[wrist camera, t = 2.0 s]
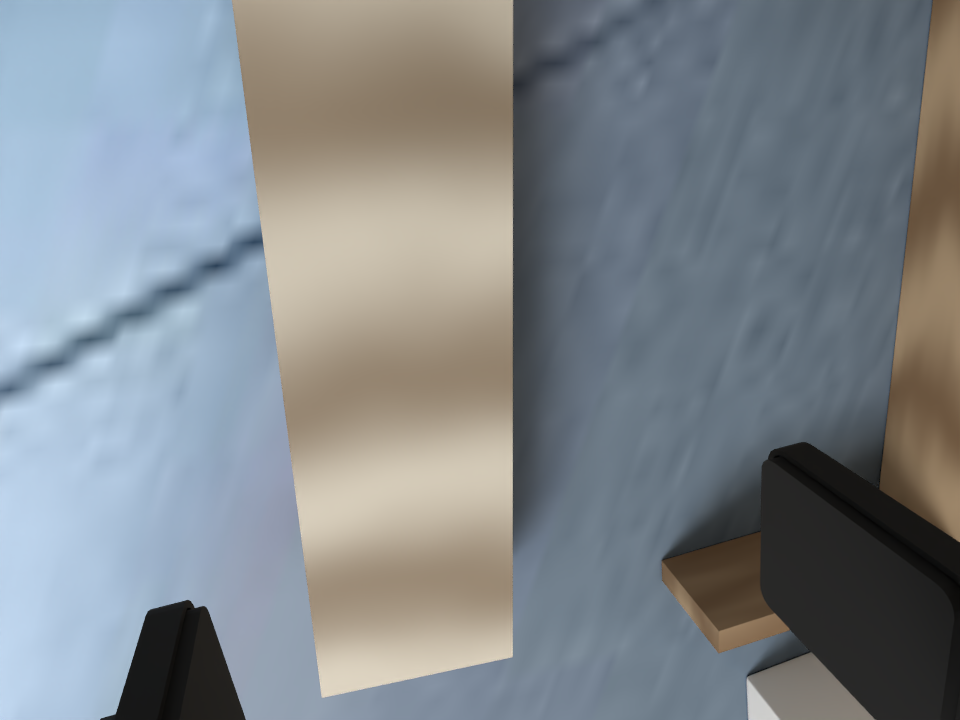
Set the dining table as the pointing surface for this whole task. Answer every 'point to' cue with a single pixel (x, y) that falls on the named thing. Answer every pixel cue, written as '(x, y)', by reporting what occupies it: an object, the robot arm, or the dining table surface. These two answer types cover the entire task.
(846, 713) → the milk
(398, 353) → the ash plank
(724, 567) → the oak board pocket
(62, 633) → the dining table surface
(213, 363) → the dining table surface
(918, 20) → the dining table surface
